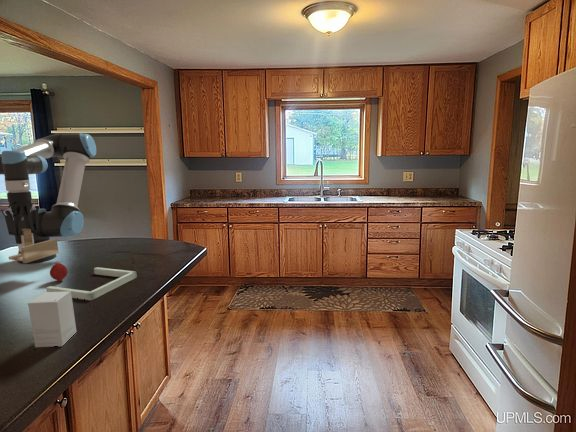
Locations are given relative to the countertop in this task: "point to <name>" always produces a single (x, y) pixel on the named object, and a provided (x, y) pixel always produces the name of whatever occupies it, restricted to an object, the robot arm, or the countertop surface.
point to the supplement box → (52, 319)
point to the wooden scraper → (35, 248)
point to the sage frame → (90, 295)
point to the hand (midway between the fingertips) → (27, 250)
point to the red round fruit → (58, 271)
